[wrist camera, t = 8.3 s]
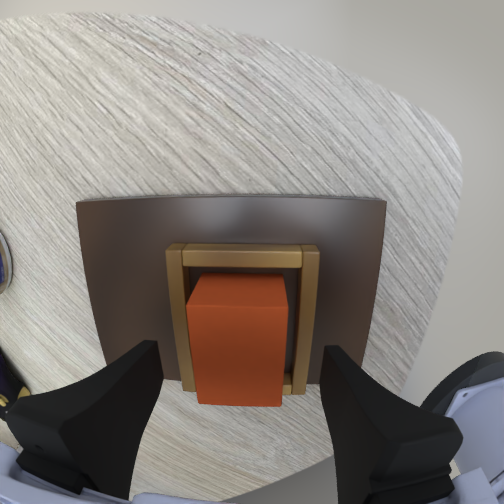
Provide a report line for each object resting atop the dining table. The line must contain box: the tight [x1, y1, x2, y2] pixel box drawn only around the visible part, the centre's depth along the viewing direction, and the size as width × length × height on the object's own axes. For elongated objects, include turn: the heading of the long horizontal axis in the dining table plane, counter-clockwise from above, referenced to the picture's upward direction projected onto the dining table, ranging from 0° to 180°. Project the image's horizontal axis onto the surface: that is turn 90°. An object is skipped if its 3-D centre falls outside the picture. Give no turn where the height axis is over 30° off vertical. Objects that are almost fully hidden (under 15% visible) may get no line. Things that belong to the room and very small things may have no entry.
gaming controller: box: [0, 353, 30, 422], centre depth 20 cm, size 10×5×6 cm
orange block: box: [186, 273, 288, 407], centre depth 14 cm, size 4×6×4 cm
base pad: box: [76, 194, 387, 395], centre depth 16 cm, size 16×11×2 cm
